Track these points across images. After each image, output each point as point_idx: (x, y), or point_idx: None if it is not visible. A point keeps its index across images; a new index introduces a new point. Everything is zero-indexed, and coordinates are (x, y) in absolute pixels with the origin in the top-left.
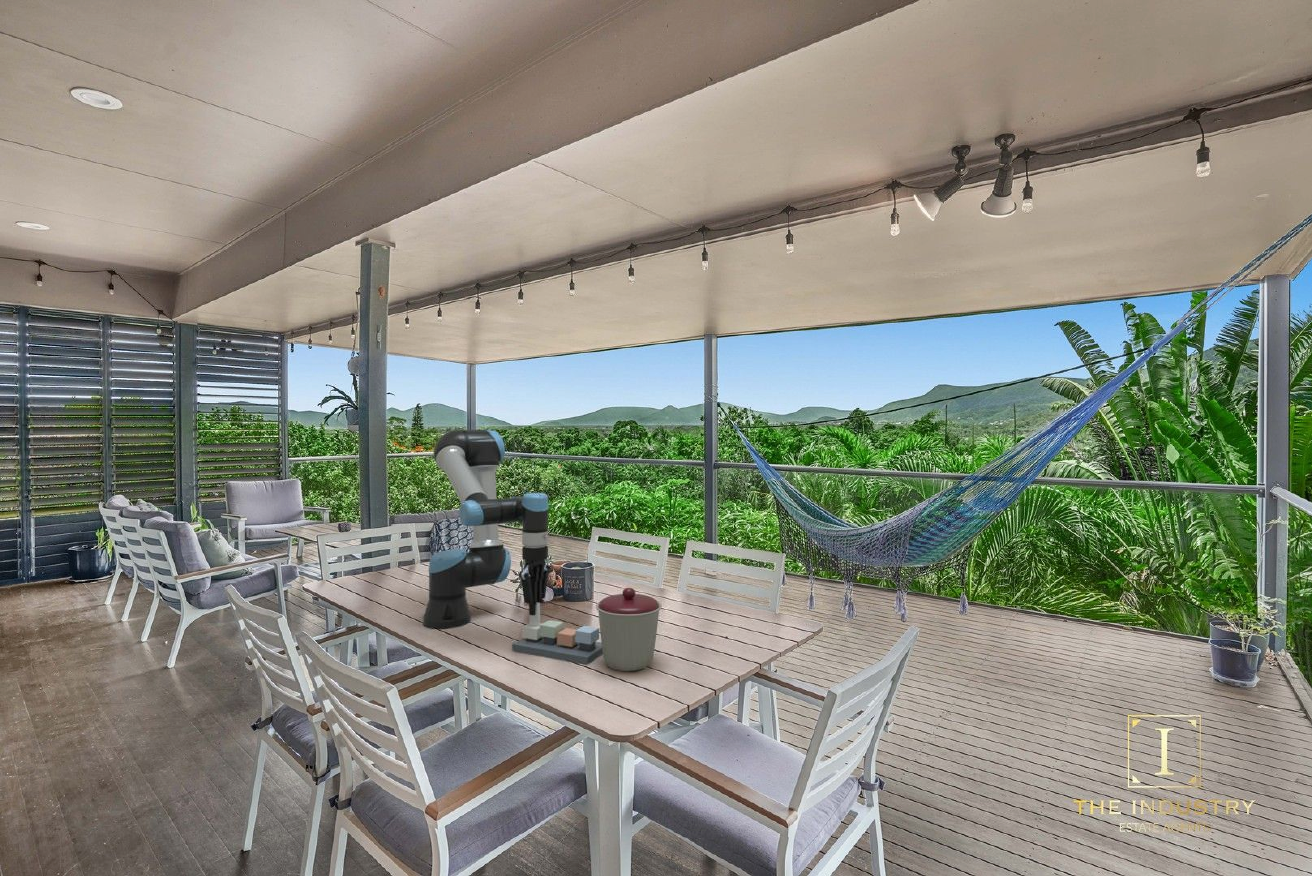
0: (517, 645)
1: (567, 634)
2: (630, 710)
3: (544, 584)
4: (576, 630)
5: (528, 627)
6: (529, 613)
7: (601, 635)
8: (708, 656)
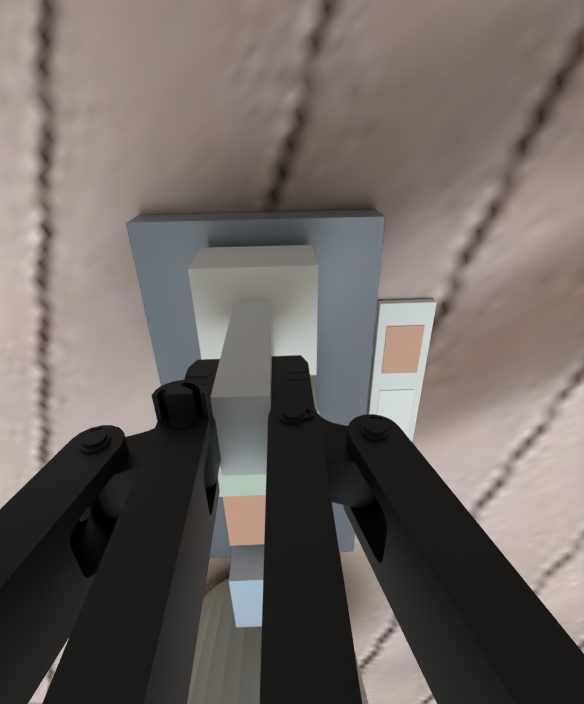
0: (135, 260)
1: (232, 526)
2: (49, 675)
3: (424, 669)
4: (233, 583)
5: (199, 316)
6: (190, 368)
7: (189, 690)
8: (402, 682)
